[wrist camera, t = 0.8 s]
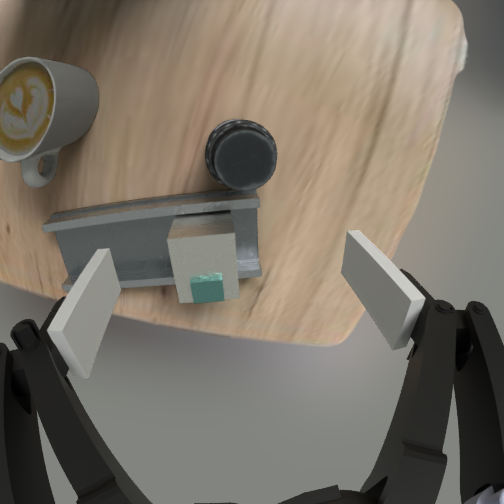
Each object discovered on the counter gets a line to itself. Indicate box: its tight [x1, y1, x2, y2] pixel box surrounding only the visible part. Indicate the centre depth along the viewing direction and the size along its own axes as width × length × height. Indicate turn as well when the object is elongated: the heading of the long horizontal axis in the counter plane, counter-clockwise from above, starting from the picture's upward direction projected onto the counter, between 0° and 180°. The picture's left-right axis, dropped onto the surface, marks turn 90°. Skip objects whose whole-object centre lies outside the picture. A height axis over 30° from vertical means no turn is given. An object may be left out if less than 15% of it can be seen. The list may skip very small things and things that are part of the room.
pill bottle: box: [205, 119, 277, 191], centre depth 25 cm, size 6×6×11 cm
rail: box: [42, 189, 262, 303], centre depth 29 cm, size 10×26×10 cm, turn 92°
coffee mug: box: [0, 57, 99, 188], centre depth 21 cm, size 13×10×10 cm
